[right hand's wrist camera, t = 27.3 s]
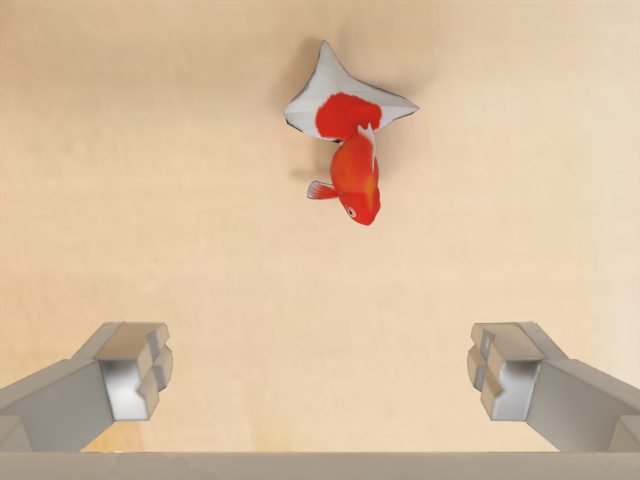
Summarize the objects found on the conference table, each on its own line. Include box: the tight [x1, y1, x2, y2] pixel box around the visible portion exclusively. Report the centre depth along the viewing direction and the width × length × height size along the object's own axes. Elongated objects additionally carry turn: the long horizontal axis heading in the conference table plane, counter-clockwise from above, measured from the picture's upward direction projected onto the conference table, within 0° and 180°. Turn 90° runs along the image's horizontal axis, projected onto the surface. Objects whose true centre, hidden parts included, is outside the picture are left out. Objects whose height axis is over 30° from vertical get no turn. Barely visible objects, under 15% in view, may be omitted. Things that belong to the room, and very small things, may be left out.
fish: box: [284, 40, 420, 225], centre depth 35 cm, size 11×16×10 cm
